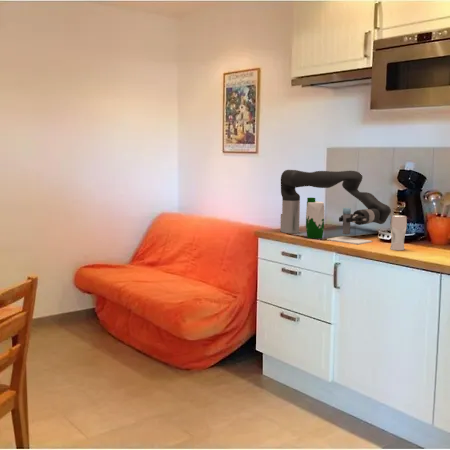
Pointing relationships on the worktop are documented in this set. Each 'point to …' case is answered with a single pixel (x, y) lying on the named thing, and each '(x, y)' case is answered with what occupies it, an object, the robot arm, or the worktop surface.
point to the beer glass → (398, 231)
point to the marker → (345, 215)
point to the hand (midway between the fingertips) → (343, 219)
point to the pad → (349, 240)
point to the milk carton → (314, 218)
